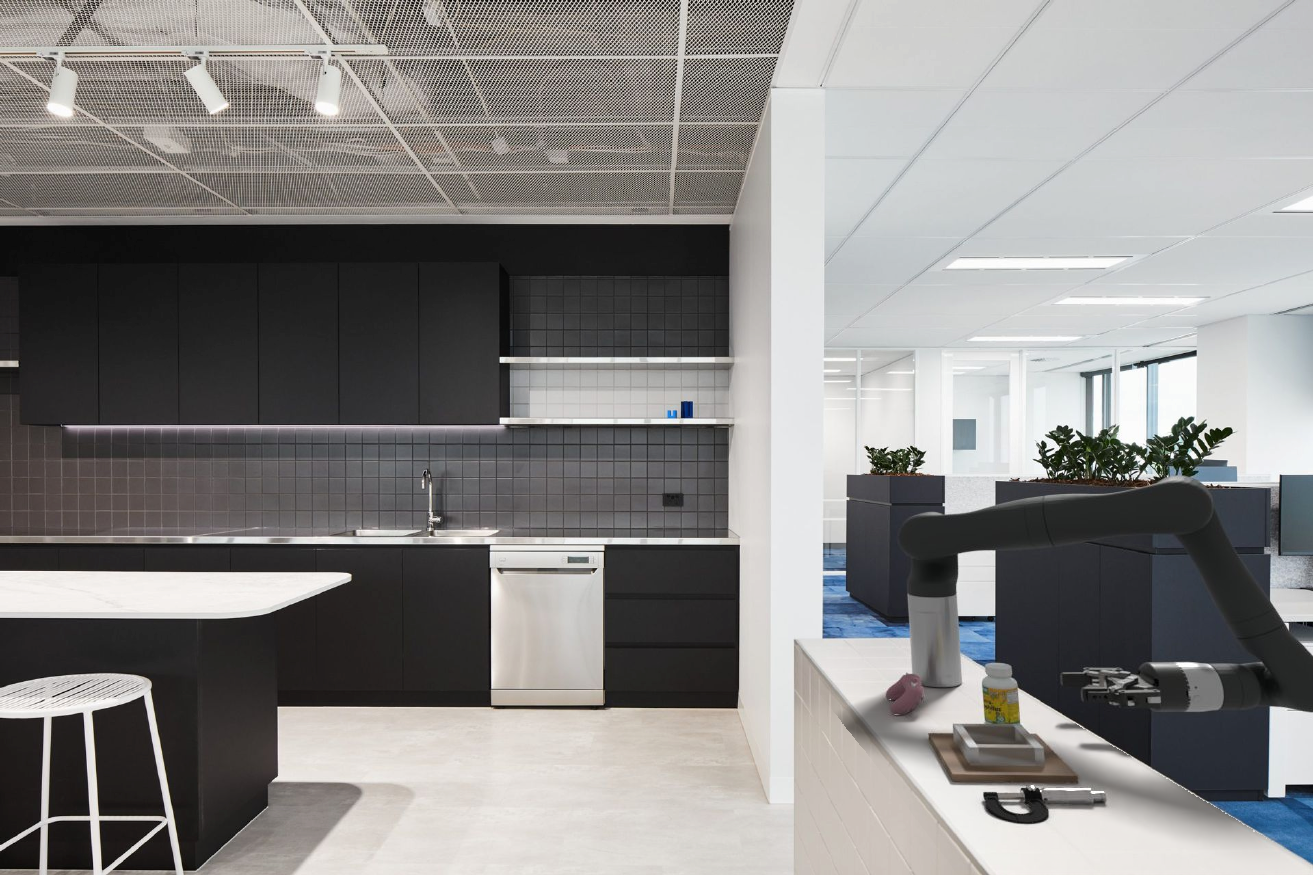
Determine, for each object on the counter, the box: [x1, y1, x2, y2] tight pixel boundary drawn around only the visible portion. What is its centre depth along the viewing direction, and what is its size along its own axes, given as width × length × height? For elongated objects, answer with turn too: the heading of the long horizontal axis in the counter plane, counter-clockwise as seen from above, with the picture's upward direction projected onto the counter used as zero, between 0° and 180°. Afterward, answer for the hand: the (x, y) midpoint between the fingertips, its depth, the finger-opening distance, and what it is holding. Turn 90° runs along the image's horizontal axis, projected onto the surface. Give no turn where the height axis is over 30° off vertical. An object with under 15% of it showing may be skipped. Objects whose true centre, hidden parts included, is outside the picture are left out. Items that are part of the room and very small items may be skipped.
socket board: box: [927, 723, 1079, 784], centre depth 110 cm, size 16×16×4 cm
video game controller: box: [885, 672, 925, 716], centre depth 135 cm, size 10×5×7 cm, turn 169°
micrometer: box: [982, 783, 1107, 825], centre depth 94 cm, size 15×7×2 cm, turn 83°
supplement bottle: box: [981, 662, 1021, 724], centre depth 124 cm, size 5×5×10 cm
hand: (1071, 687), depth 123 cm, fingers open, 8 cm apart
